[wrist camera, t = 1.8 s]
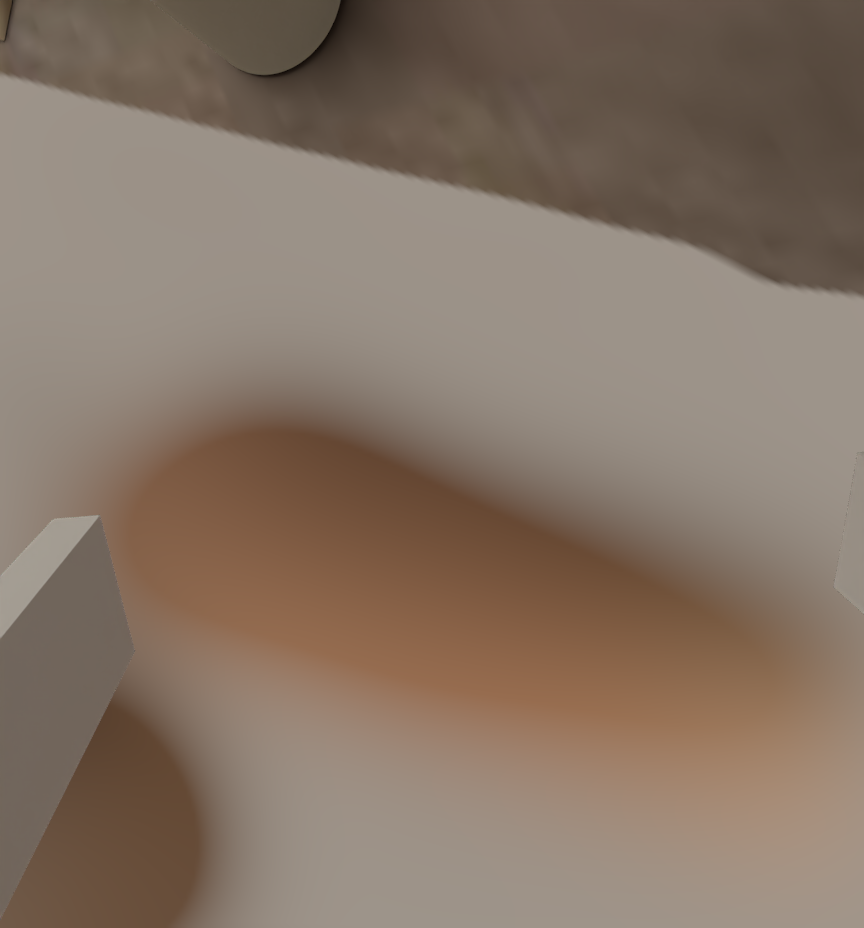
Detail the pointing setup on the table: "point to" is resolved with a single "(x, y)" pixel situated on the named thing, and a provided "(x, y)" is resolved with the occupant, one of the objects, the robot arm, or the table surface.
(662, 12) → the table surface
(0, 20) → the birch straightedge
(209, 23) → the travel mug
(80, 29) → the table surface
